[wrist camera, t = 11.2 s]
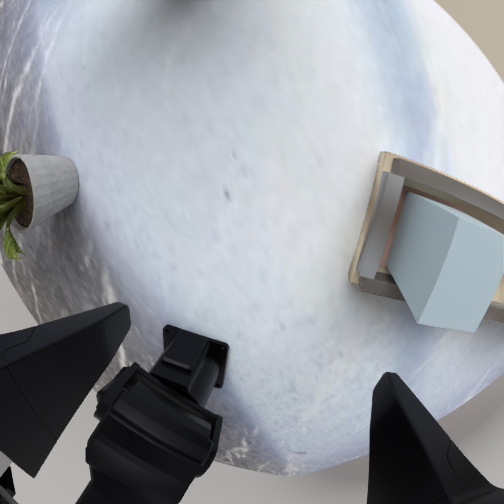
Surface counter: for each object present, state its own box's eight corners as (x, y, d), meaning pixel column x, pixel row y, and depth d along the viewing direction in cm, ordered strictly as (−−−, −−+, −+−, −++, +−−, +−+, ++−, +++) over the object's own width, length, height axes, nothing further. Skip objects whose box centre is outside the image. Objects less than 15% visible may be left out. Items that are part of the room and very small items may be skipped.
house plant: (149, 162, 19) (-58, 219, 4) (95, 277, 25) (-21, 367, 10) (62, 92, 18) (-77, 101, 3) (27, 198, 24) (-78, 244, 9)
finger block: (435, 275, 16) (478, 333, 10) (385, 262, 17) (417, 323, 10) (457, 209, 14) (518, 243, 8) (406, 190, 15) (459, 217, 8)
